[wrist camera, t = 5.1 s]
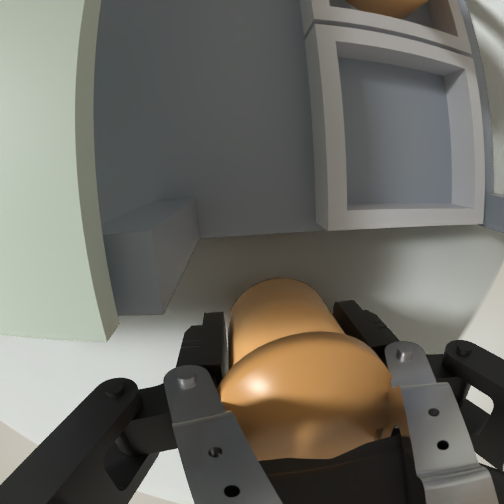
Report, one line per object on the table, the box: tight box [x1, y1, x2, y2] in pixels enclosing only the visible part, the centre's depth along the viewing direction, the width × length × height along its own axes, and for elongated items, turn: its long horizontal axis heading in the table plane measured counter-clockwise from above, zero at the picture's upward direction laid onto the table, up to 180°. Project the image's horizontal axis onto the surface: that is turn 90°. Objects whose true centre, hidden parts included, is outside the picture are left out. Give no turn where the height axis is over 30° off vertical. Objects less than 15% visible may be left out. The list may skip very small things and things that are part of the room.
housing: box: [93, 0, 504, 315], centre depth 6 cm, size 14×27×7 cm, turn 93°
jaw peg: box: [217, 278, 393, 461], centre depth 10 cm, size 5×5×6 cm
